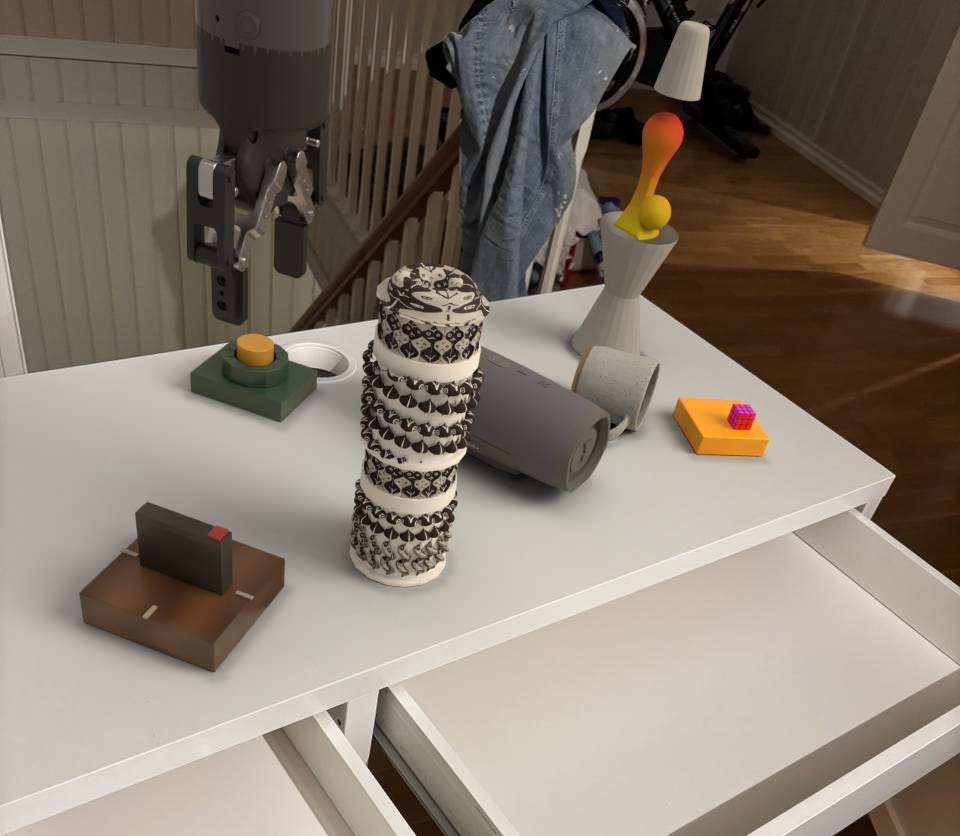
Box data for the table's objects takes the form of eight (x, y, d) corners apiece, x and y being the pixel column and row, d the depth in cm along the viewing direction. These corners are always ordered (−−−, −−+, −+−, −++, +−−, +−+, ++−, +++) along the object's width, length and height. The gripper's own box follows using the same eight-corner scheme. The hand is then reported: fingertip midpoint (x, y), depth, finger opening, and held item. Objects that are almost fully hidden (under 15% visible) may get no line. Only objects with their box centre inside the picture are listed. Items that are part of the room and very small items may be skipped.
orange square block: (696, 454, 105) (709, 420, 103) (672, 414, 111) (683, 380, 108) (762, 456, 107) (776, 423, 105) (735, 417, 113) (748, 384, 110)
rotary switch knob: (139, 565, 74) (134, 509, 71) (151, 553, 75) (146, 498, 72) (222, 595, 73) (221, 541, 70) (232, 583, 74) (232, 529, 71)
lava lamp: (555, 339, 120) (632, 10, 96) (605, 326, 125) (691, 10, 101) (606, 374, 115) (701, 38, 91) (656, 359, 120) (758, 37, 96)
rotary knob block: (81, 622, 73) (76, 591, 71) (164, 541, 81) (162, 511, 79) (215, 673, 72) (214, 643, 69) (286, 586, 80) (287, 556, 77)
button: (230, 360, 97) (229, 344, 95) (248, 345, 99) (248, 329, 98) (262, 371, 96) (263, 355, 95) (280, 356, 99) (280, 340, 97)
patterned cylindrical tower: (331, 575, 82) (354, 289, 64) (360, 512, 88) (387, 238, 71) (438, 601, 81) (489, 321, 64) (458, 536, 88) (509, 267, 71)
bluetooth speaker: (599, 480, 99) (625, 392, 92) (552, 519, 92) (577, 429, 86) (420, 388, 106) (432, 301, 99) (366, 419, 100) (375, 328, 93)
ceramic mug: (580, 389, 111) (596, 327, 106) (648, 412, 110) (668, 350, 105) (552, 432, 104) (567, 367, 99) (624, 457, 103) (644, 393, 97)
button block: (190, 392, 98) (189, 355, 95) (231, 359, 104) (230, 324, 101) (280, 423, 97) (281, 387, 94) (316, 388, 102) (318, 353, 100)
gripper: (263, -11, 61) (260, 246, 72) (133, 27, 50) (153, 320, 61) (374, 20, 60) (354, 275, 71) (265, 65, 49) (262, 356, 61)
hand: (261, 296), depth 66 cm, fingers open, 8 cm apart
